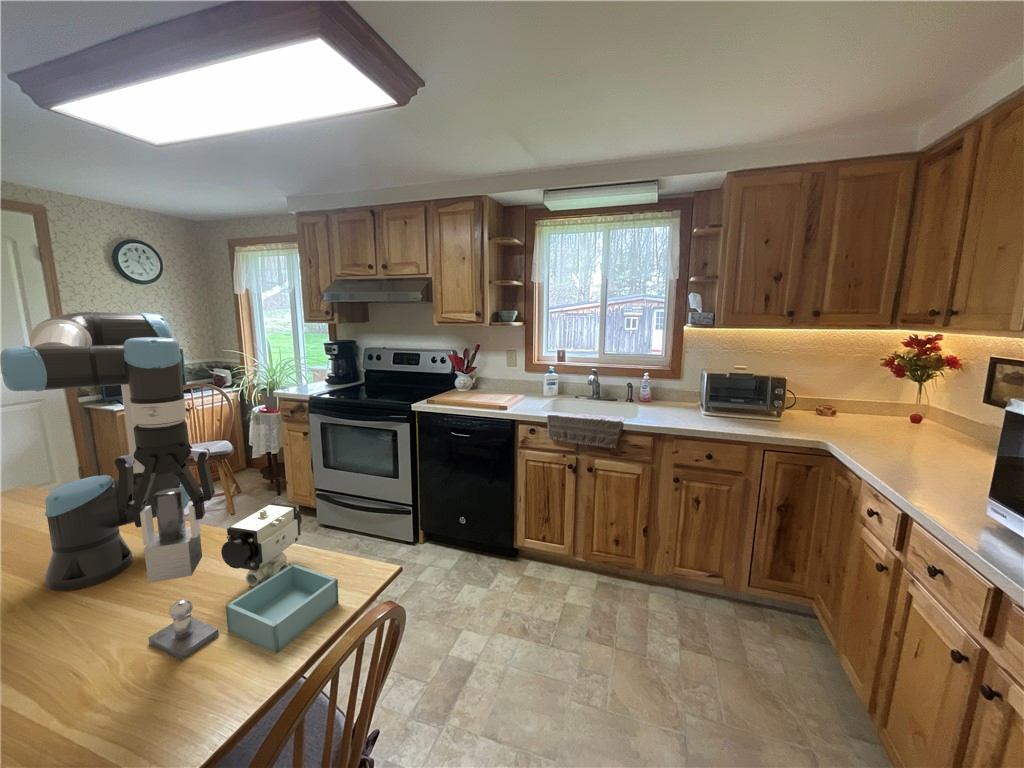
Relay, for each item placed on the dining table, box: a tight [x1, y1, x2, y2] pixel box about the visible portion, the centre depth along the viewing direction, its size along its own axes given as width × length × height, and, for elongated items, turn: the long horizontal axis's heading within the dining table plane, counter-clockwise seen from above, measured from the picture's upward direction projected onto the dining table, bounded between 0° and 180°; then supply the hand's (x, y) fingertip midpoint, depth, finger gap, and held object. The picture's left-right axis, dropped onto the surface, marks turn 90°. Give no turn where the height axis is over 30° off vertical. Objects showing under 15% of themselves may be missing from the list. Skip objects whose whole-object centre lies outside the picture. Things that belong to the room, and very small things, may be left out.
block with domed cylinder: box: [143, 488, 203, 584], centre depth 79 cm, size 7×7×16 cm
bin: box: [225, 563, 340, 655], centre depth 90 cm, size 14×16×6 cm
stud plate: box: [148, 598, 220, 662], centre depth 82 cm, size 10×7×9 cm
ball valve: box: [220, 502, 303, 587], centre depth 102 cm, size 18×8×18 cm, turn 168°
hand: (173, 537), depth 79 cm, fingers closed on block with domed cylinder, 7 cm apart
